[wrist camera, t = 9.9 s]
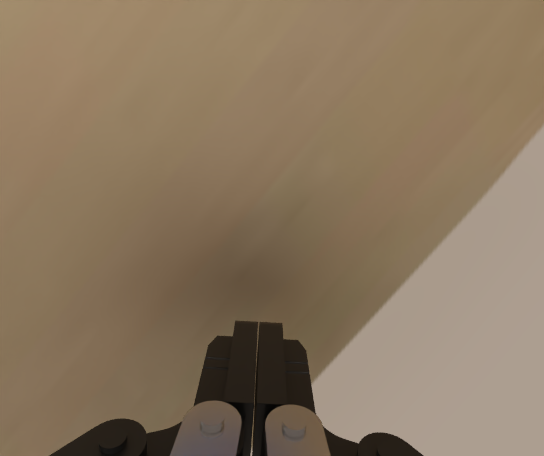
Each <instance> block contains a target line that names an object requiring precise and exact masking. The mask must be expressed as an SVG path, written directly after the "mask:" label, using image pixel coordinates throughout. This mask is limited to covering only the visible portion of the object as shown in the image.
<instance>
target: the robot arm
mask: <svg viewBox="0 0 544 456" xmlns="http://www.w3.org/2000/svg"><path fill="white" fill-rule="evenodd" d="M257 328H258V322H250V321H235V326H234V333H233V337H232V336H217V337H216V338H215V339H214V340H213V341H212V342H211V343H210V344H209V345H208V349H207V353H206V358H205V361H204V365H203V369H202V374H201V378H200V382H199V386H198V390H197V394H196V398H195V403H194V406H193V407H192V408H191V409H190V410H189V411H188V412H187V413H186V414H185V416H184V418H183V421H182V422H180V423H179V424H177V425H175V426H173V427H171V428H168V429H164V430H160V431H156V432H151V433H147V434H146V431H145V429H144V427H143V426H142V425H141V424H139V423H138V422H136V421H134V420H130V419H114V420H110V421H106V422H104V423H102V424H100V425H98V426H96V427H94V428H93V429H91V430H90V431H88V432H86V433H85V434H83V435H82V436H80V437H78V438H77V439H75V440H74V441H72V442H70V443H69V444H67V445H66V446H64V447H62V448H61V449H59V450H58V451H56V452H54V453H53V454H51V455H50V456H250V453H251V439H252V425H253V411H254V429H253V452H252V456H423V455H422V454H421V453H419V452H418V451H417V450H415V449H414V448H413V447H412V446H411V445H409V444H408V443H407V442H405V441H404V440H402V439H400V438H398V437H397V436H394V435H391V434H388V433H372V434H368V435H367V436H365V437H364V438H363V439H362V440H361V441H360V443H359V444H358V443H355V442H352V441H349V440H346V439H343V438H340V437H338V436H336V435H334V434H332V433H331V432H329V431H328V430H327V429H326V428H324V427H323V425H322V422H321V421H320V419H319V418H318V416H317V415H316V413H315V407H314V401H313V393H312V387H311V380H310V375H309V367H308V360H307V354H306V350H305V349H304V347H303V346H302V345H301V343H300V342H299V341H298V340H286V339H283V328H282V323H268V322H260V325H259V338H258V352H257V366H256V350H257ZM255 372H256V383H255ZM254 394H255V406H254Z"/></svg>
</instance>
